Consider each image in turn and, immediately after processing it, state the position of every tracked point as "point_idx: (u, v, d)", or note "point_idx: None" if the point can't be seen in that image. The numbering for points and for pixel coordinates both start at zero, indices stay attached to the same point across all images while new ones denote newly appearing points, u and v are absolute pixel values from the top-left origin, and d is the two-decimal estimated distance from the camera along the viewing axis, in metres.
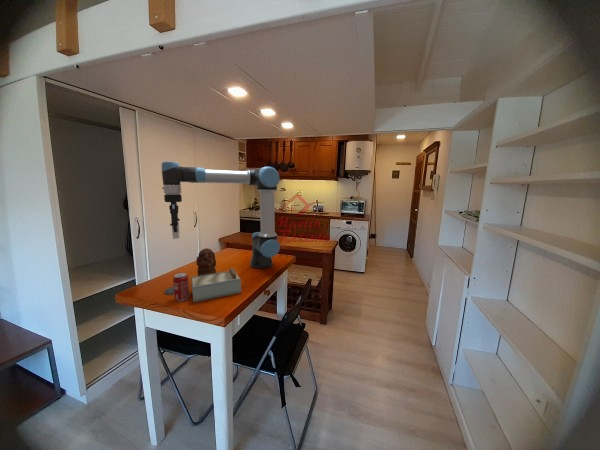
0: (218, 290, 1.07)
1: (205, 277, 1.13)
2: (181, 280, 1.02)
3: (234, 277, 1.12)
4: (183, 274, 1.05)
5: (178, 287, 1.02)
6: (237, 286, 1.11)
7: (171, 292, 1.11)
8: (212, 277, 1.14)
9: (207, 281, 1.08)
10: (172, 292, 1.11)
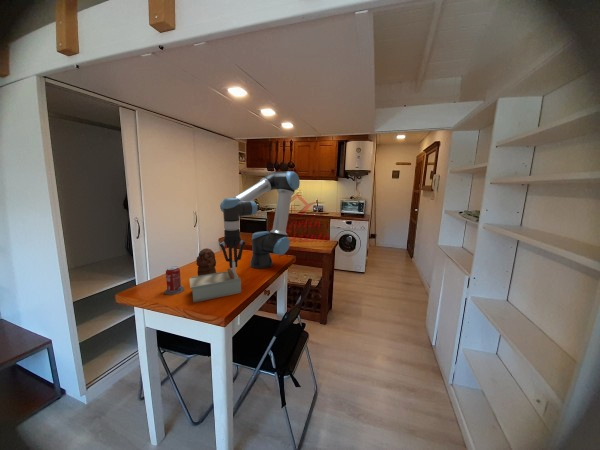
0: (218, 290, 1.07)
1: (203, 277, 1.13)
2: (173, 272, 1.10)
3: (232, 277, 1.12)
4: (175, 267, 1.13)
5: (170, 278, 1.10)
6: (237, 286, 1.11)
7: (171, 292, 1.11)
8: (210, 277, 1.13)
9: (204, 282, 1.08)
10: (172, 292, 1.11)
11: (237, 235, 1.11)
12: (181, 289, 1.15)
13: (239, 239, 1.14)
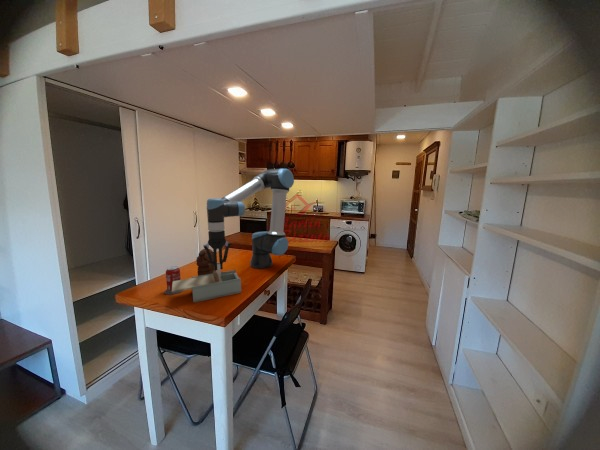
0: (218, 290, 1.07)
1: (186, 280, 1.09)
2: (173, 272, 1.10)
3: (216, 280, 1.08)
4: (175, 267, 1.13)
5: (170, 278, 1.10)
6: (237, 286, 1.11)
7: (171, 292, 1.11)
8: (194, 280, 1.10)
9: (187, 285, 1.04)
10: (172, 292, 1.11)
11: (222, 237, 1.07)
12: None
13: (224, 241, 1.10)
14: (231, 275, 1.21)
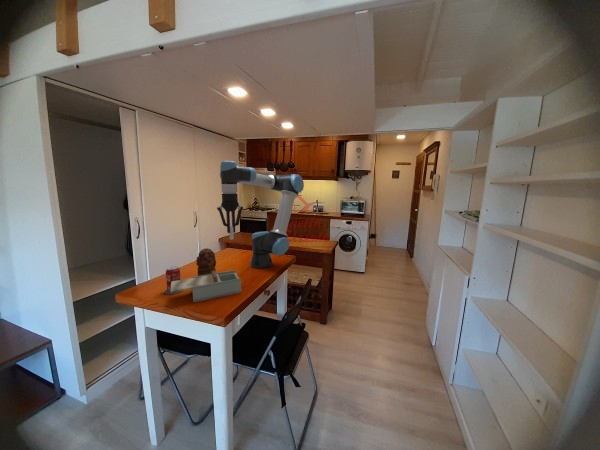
0: (218, 290, 1.07)
1: (185, 280, 1.09)
2: (173, 272, 1.10)
3: (215, 280, 1.08)
4: (175, 267, 1.13)
5: (170, 278, 1.10)
6: (237, 286, 1.11)
7: None
8: (193, 280, 1.09)
9: (186, 285, 1.04)
10: (172, 292, 1.11)
11: (235, 199, 1.10)
12: None
13: (237, 204, 1.12)
14: (231, 275, 1.21)
